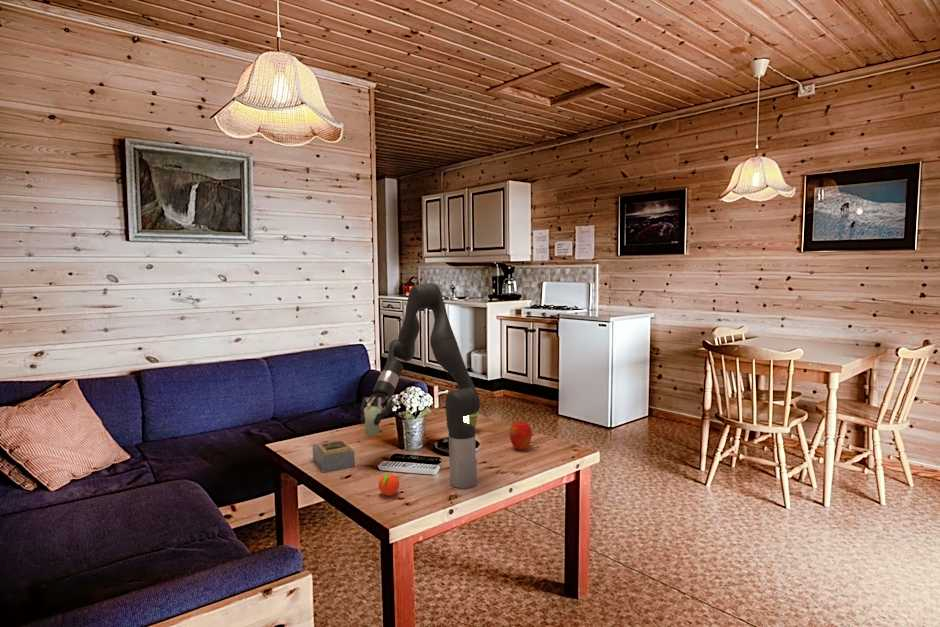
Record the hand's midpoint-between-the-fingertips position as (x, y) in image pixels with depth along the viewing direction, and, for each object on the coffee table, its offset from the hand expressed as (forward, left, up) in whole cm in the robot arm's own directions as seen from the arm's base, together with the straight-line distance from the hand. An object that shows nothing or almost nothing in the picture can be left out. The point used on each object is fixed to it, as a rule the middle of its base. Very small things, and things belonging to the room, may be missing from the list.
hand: (369, 423), depth 212 cm
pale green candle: (+1, -1, -5) cm, 5 cm away
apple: (-12, -59, -18) cm, 63 cm away
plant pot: (+18, -51, -18) cm, 57 cm away
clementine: (-26, +3, -18) cm, 31 cm away
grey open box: (+13, +11, -17) cm, 24 cm away
